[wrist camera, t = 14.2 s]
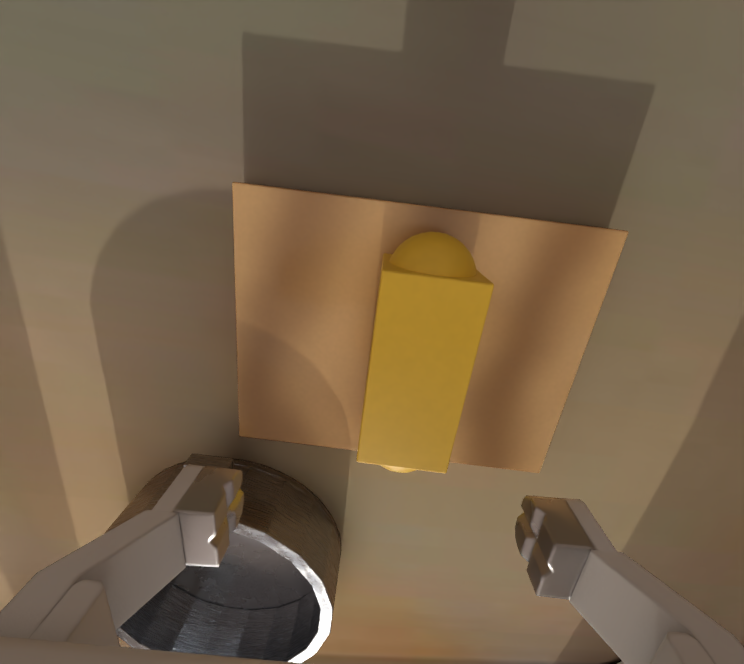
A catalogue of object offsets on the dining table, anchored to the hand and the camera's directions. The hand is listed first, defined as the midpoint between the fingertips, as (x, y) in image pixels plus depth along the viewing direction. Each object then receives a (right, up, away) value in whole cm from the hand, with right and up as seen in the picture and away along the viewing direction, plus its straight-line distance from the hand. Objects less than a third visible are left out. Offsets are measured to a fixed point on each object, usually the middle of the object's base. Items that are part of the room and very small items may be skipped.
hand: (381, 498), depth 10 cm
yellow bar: (+2, +4, +8) cm, 9 cm away
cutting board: (+2, +5, +10) cm, 11 cm away
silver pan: (-10, -11, +16) cm, 22 cm away
